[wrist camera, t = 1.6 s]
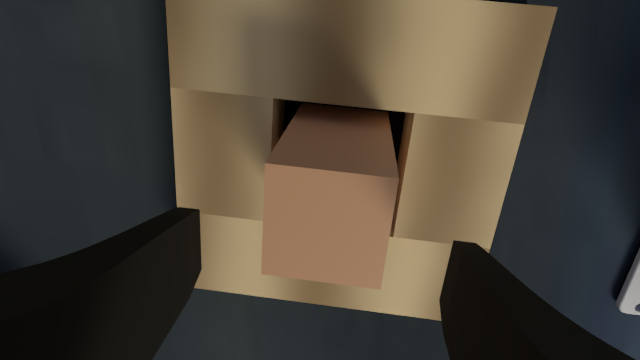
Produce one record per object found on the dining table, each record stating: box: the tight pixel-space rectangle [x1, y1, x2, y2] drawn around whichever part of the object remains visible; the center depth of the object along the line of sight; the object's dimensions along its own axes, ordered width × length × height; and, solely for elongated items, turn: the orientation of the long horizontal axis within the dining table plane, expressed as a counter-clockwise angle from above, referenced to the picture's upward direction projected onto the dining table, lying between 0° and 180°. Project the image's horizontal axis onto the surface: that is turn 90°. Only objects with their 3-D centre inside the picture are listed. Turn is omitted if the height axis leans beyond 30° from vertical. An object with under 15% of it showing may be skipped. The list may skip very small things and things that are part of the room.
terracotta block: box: [261, 103, 399, 290], centre depth 17 cm, size 4×4×8 cm
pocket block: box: [166, 0, 558, 321], centre depth 20 cm, size 14×14×3 cm
